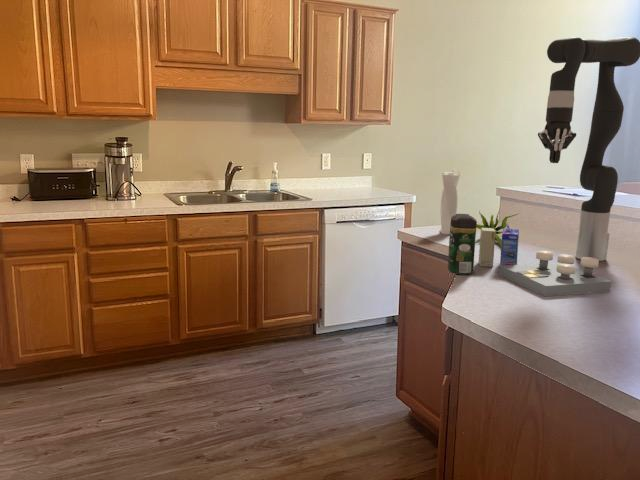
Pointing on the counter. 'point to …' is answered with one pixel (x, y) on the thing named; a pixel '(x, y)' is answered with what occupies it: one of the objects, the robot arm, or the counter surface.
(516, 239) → the ink cartridge box
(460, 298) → the counter surface
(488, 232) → the skincare box
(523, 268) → the board
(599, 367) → the counter surface
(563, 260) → the button
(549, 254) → the button
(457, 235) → the coffee jar
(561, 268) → the button
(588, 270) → the button
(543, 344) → the counter surface
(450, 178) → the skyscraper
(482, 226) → the decorative plant
